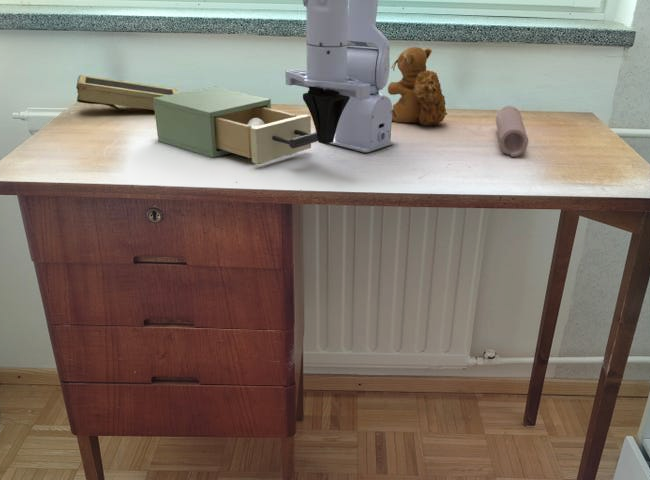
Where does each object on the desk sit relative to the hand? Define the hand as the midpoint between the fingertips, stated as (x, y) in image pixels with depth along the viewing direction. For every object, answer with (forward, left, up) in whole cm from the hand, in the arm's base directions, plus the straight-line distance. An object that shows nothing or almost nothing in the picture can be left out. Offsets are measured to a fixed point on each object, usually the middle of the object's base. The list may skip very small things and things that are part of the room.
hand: (325, 141), depth 104 cm
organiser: (+25, 0, -5) cm, 26 cm away
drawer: (+13, 0, -4) cm, 13 cm away
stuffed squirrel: (+8, -38, -5) cm, 39 cm away
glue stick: (+14, 0, -2) cm, 14 cm away
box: (+52, -4, -5) cm, 53 cm away
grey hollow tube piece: (-12, -36, -5) cm, 39 cm away
